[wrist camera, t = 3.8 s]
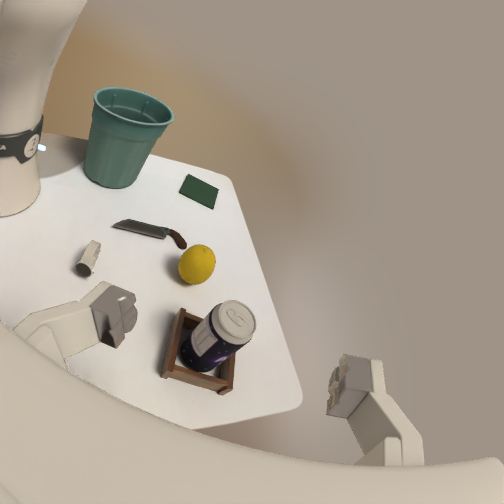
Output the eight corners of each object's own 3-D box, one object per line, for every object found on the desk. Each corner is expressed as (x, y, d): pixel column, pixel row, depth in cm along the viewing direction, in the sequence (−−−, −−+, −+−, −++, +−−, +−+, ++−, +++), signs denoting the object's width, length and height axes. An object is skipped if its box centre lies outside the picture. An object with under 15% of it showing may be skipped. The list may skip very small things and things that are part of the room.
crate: (160, 377, 34) (167, 370, 32) (174, 316, 41) (181, 307, 40) (222, 395, 37) (232, 390, 35) (228, 337, 44) (237, 329, 43)
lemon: (204, 295, 47) (226, 267, 43) (172, 290, 44) (192, 260, 40) (200, 268, 51) (220, 239, 46) (170, 263, 48) (188, 231, 43)
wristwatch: (73, 277, 35) (76, 256, 32) (86, 253, 39) (90, 231, 36) (90, 285, 36) (94, 264, 33) (102, 261, 40) (108, 239, 37)
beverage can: (199, 381, 36) (242, 350, 29) (170, 352, 37) (205, 312, 30) (222, 359, 41) (267, 323, 34) (196, 331, 42) (234, 289, 35)
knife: (185, 234, 54) (186, 232, 53) (186, 250, 51) (187, 248, 51) (114, 216, 46) (114, 213, 46) (111, 232, 44) (112, 230, 44)
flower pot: (90, 142, 55) (111, 80, 46) (151, 164, 63) (179, 105, 53) (62, 180, 44) (79, 104, 35) (137, 206, 51) (168, 135, 42)
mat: (178, 192, 61) (179, 191, 61) (187, 175, 68) (188, 173, 67) (212, 209, 64) (213, 208, 64) (217, 190, 70) (218, 189, 70)
